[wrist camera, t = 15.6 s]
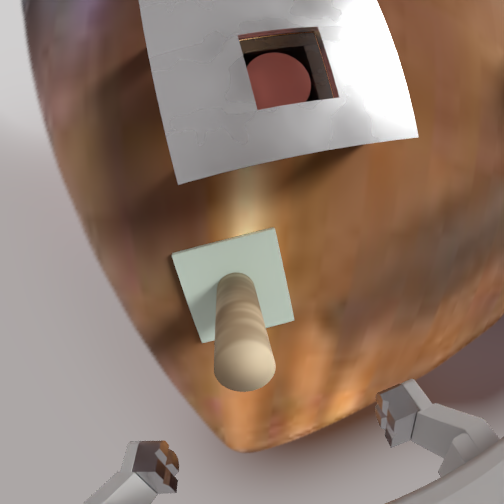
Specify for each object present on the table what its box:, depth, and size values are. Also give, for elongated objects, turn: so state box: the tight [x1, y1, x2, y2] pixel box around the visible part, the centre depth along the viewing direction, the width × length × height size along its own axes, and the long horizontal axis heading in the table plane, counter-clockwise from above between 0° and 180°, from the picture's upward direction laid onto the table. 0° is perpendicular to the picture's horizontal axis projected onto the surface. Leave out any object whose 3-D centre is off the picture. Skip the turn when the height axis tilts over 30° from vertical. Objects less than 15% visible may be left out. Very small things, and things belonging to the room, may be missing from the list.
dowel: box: [214, 272, 275, 392], centre depth 19 cm, size 3×3×10 cm
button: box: [246, 52, 311, 110], centre depth 18 cm, size 4×4×3 cm
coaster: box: [172, 227, 294, 343], centre depth 24 cm, size 8×8×1 cm
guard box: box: [139, 0, 418, 185], centre depth 16 cm, size 14×12×7 cm
